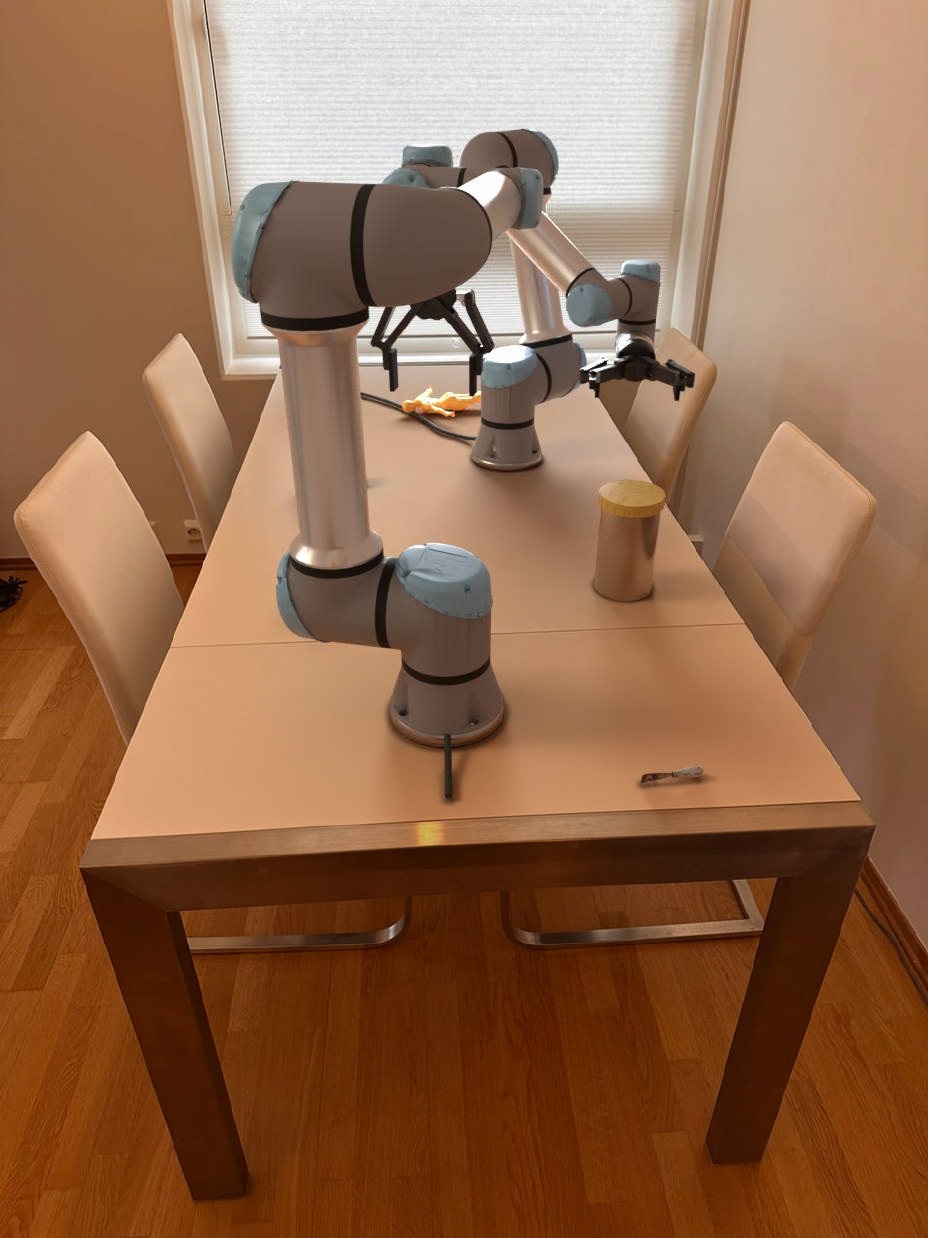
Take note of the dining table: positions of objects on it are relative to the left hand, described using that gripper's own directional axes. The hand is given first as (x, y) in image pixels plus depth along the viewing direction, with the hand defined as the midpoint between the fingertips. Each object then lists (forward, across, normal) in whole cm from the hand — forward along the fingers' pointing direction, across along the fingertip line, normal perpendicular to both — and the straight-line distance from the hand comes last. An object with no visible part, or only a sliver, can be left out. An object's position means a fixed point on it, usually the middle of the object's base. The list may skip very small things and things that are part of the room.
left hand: (433, 391), depth 149 cm
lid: (+11, -34, +10) cm, 38 cm away
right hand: (+1, -33, -11) cm, 35 cm away
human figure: (+28, +14, -71) cm, 78 cm away
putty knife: (+28, -43, +57) cm, 77 cm away
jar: (+28, -34, +10) cm, 46 cm away
